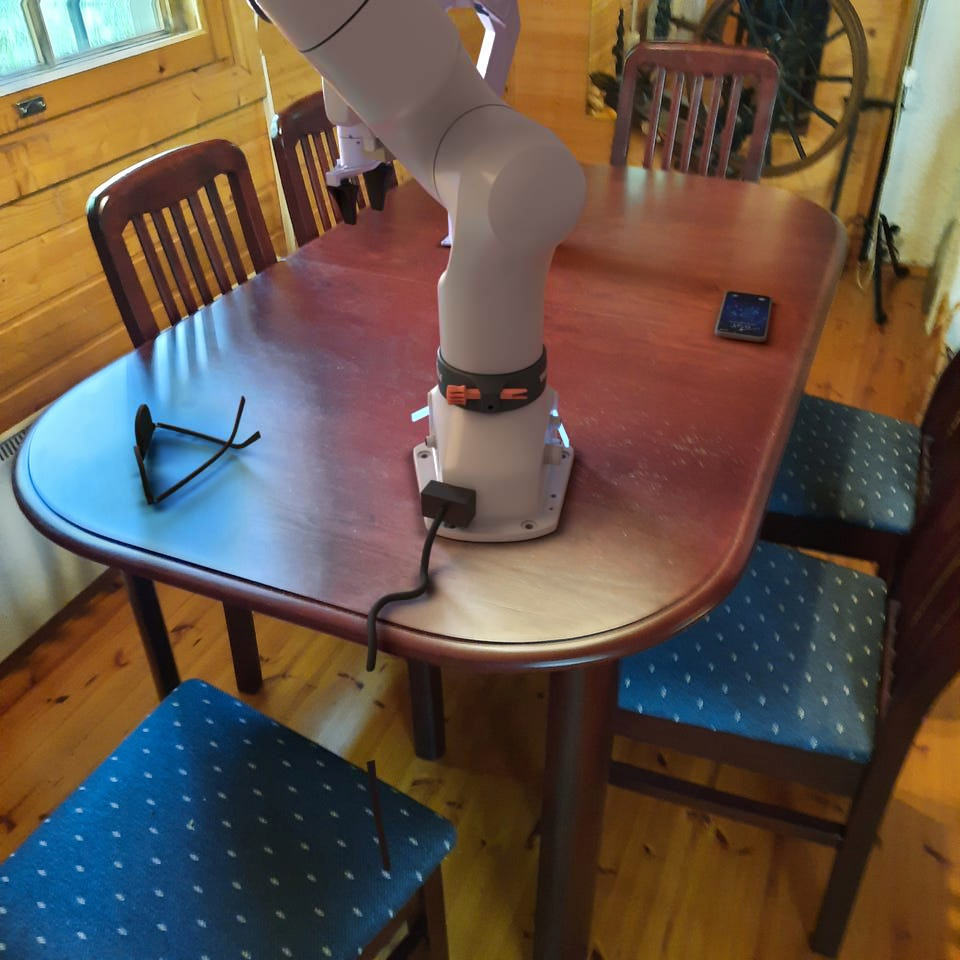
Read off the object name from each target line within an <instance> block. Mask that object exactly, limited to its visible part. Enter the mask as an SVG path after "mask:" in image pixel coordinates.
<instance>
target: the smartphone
mask: <svg viewBox="0 0 960 960" xmlns="http://www.w3.org/2000/svg"><path fill="white" fill-rule="evenodd" d="M773 302H774V301H773V298H772V297H771V296H769V295H763V294H756V293H749V292H743V291H734V290H729V291H726V292H725V293H724V295H723V299H722V301H721V306H720V310H719V312H718V317H717V319H716V322H715V328H714V334H715V335H716V336H717V337H718V338H719V337H720V338H725V339H732V340H739V341H747V342H754V343H764V342H765V341H767V338H768V333H769V328H770V318H771V313H772V307H773Z"/></svg>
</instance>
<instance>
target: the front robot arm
mask: <svg viewBox="0 0 960 960" xmlns="http://www.w3.org/2000/svg"><path fill="white" fill-rule="evenodd" d="M246 2H247V5H248V6H249V8H251V10H252V11H253V12H254V13H255V14H256V15H257V16H258V17H259V18H260V19H262V21H264V22H265V23H268V24H271V25H273V26H275V28H276V29H277V30H278V31H279V32H280V34H281V35H282V37H284V38H285V39H286V40H287V42H289V44H290V45H291V46H292V48H294V50H296V51H297V52H298V53H299V54H300V56H302V58H304V60H305V61H306V62H307V63H308V64H309V65H310V66H311V67H312V68H313V69H314V70H315V71H316V72H317V73H318V75H319V76H320V77H321V82H322V92H323V93H322V94H323V102H324V109H325V114H326V117H327V119H328V120H329V122H330V123H331V124H332V125H333V126H336V127H337V126H344V127H352V126H355V125H356V128H357V129H358V131H359V133H360V134H361V136H362V138H363V143H364V149H365V150H366V151H371V152H373V151H375V150H377V149H379V147H380V146H379V139H380V140H381V141H382V143H383V144H384V145H385V146H386V147H387V148H388V149H389V150H390V152H391V153H392V154H393V155H394V156H395V157H396V158H397V159H396V160H397V161H398V162H399V163H400V164H401V165H402V166H403V167H404V169H406V171H407V172H408V173H409V174H410V175H411V176H412V178H414V180H416V182H417V183H418V184H419V185H420V186H421V187H422V188H423V189H424V191H426V193H428V194H429V196H431V197H432V198H433V199H434V200H435V201H436V202H437V203H439V204H440V205H441V206H442V207H443V208H444V209H446V211H447V215H448V214H449V217H450V220H451V224H452V245H451V246H450V252H449V256H448V261H447V266H446V269H445V270H444V272H443V273H442V274H441V275H440V277H439V279H438V283H437V307H438V327H439V342H440V343H439V344H440V345H439V346H438V348H437V354H436V356H437V358H436V363H435V364H436V376H437V384H436V385H435V387H434V386H433V388H432V389H431V390H430V391H428V392H427V406H424V407H423V408H421V409H419V410H417V411H415V412H413V413H411V421H412V422H416V421H418V420H420V419H423V418H424V417H426V416H428V424H429V435H426V436H425V438H424V442H422V443H419V444H417V445H416V446H415V447H414V448H413V454H412V455H413V457H412V458H413V464H414V470H415V475H416V476H415V477H416V480H417V487H418V492H419V498H420V499H419V500H420V506H421V516H422V517H423V522H424V526H425V529H426V530H427V531H428V532H427V534H426V537H425V540H424V543H423V547H422V553H421V559H420V566H419V579H420V585H419V586H418V587H417V588H414V589H412V590H409V591H407V590H406V591H400V592H399V591H398V592H392V593H388V594H385V595H383V596H381V597H380V598H379V599H378V600H377V601H376V602H375V603H374V604H373V605H372V606H371V608H370V610H369V612H368V615H367V618H366V631H367V655H366V656H367V657H366V665H365V670H366V672H368V673H372V672H373V671H375V669H376V664H377V657H378V656H377V655H378V636H377V633H378V632H377V617H378V614H379V613H380V612H381V611H382V610H383V608H384V607H385V606H387V605H388V604H390V603H394V602H401V601H409V600H414V599H418V598H419V597H421V596H423V595H424V594H425V593H426V592H427V591H428V589H429V586H430V579H429V566H430V559H431V552H432V548H433V544H434V541H435V538H436V535H437V536H440V537H443V538H448V539H452V540H457V541H466V542H477V543H478V542H480V543H500V542H501V543H502V542H503V543H506V542H518V541H527V540H531V539H536V538H539V537H543V536H546V535H548V534H550V533H552V532H554V531H556V530H557V527H558V525H559V520H560V518H561V517H560V516H561V512H562V508H563V504H564V500H565V497H566V492H567V488H568V483H569V480H570V476H571V472H572V469H573V468H572V467H573V464H574V459H575V450H574V447H573V446H571V445H570V439H569V438H568V435H567V433H566V430H565V428H564V426H563V424H562V416H559V392H557V391H556V390H555V389H554V388H553V387H552V386H551V385H550V384H549V383H548V382H547V379H548V367H549V361H548V356H547V355H548V354H547V353H548V351H547V347H546V345H545V344H544V330H545V329H544V326H545V302H546V301H545V299H546V288H547V281H548V275H549V272H550V268H551V264H552V262H553V261H552V260H553V257H554V256H555V252H556V249H557V246H559V245H560V244H562V243H563V242H564V241H565V240H566V239H567V238H568V237H570V235H571V234H572V232H573V231H574V230H575V228H576V227H577V225H578V224H579V221H580V220H581V217H582V215H583V213H584V209H585V206H586V202H587V201H586V200H587V181H586V176H585V173H584V170H583V167H582V165H581V164H580V163H579V160H578V159H577V158H576V157H575V156H574V154H573V152H571V149H570V148H569V147H568V145H566V144H565V143H564V141H563V140H562V139H561V138H560V137H559V135H558V134H556V133H555V132H554V131H553V130H552V129H551V128H549V127H547V126H545V125H543V124H542V123H539V122H538V121H536V120H534V119H532V118H530V117H528V116H527V115H525V114H523V113H521V112H520V111H518V110H517V109H515V108H513V106H511V105H510V104H508V103H507V102H506V101H505V100H503V98H502V99H501V98H500V97H499V96H497V95H496V94H495V93H494V91H493V90H492V89H491V88H490V87H489V85H488V84H487V83H486V81H485V80H484V78H483V77H482V75H481V74H480V72H479V71H478V69H477V65H476V64H475V63H474V61H473V59H472V58H471V56H470V53H469V52H468V50H467V48H466V46H465V44H464V43H463V41H462V38H461V35H460V31H459V29H458V27H457V25H456V23H455V22H454V21H453V19H452V18H451V17H450V15H449V14H448V13H447V12H445V10H444V9H443V8H442V7H441V5H440V4H439V3H438V1H437V0H246ZM375 135H376V136H375ZM558 433H559V434H560V437H561V439H562V441H561V439H560V438H558ZM366 770H367V772H366V773H367V781H368V788H369V795H370V802H371V809H372V814H373V821H374V825H375V831H376V836H377V842H378V848H379V852H380V858H381V862H382V868H383V867H384V868H383V871H384V870H386V871H389V870H390V869H391V870H392V865H391V859H390V854H389V849H388V848H389V847H388V842H387V838H386V831H385V827H384V820H383V815H382V814H383V813H382V808H381V802H380V801H381V800H380V794H379V785H378V778H377V777H378V776H377V768H376V759H372V760H367V761H366Z"/></svg>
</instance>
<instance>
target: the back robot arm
mask: <svg viewBox="0 0 960 960" xmlns="http://www.w3.org/2000/svg"><path fill="white" fill-rule="evenodd" d="M437 1H438V3H439V4H440V5H441V7H442V8H443V9H444V10H445V12H446V13H447V12H449V11H450V10H451V9H455V8H458V9H459V8H464V9H465V8H472V9H473V10H474V11H475V13H476V14H477V16H478V18H479V21H480V22H481V24H482V25H483V27H484V30H485V32H484V36H483V41H482V44H481V48H480V52H479V56H478V61H477V64H476V67H477V69H478V71H479V72H480V74H481V75H482V77H483V78H484V80H485V81H486V83H487V84H488V85H489V87H490V88H491V89H492V90H493V91H494V93H495V94H496V95H497V96H499V97H500V98H501V99H502V100H503V95H504V91H505V88H506V84H507V81H508V77H509V73H510V70H511V66H512V63H513V59H514V58H513V57H514V55H515V52H516V47H517V43H518V40H519V37H520V33H521V27H522V22H521V16H520V9H519V8H520V7H519V3H518V2H519V1H518V0H437ZM336 131H337V140H338V147H339V155H340V158H338V159H336V165H335V166H334V167H333V168H332V169H331V170H329V171H327V172H326V173H325V176H326V181H325V189H327V191H328V192H329V193H330V195H331V196H332V198H333V200H334V201H335V203H336V205H337V207H338V210H339V212H340V215H341V218H342V220H343V222H344V224H345V225H349V226H356V225H357V221H358V214H357V213H358V210H357V209H358V208H357V205H358V203H357V202H358V195H359V194H358V193H359V190H360V188H361V187H360V184H354V183H352V181H350V179H352V178H355V177H357V176H359V175H361V174H362V175H363V178H364V181H365V184H366V188H367V194H368V200H369V205H370V208H371V210H372V211H378V212H382V211H384V210H385V209H384V207H385V202H386V195H387V190H388V186H389V184H390V180H391V178H392V176H393V174H394V167H393V166H392V165H388V164H391V161H390V162H387V163H384V162H380V161H377V160H374V159H370V158H367V157H363V151H362V142H361V134H360V133H359V131H358V129H357V128H356V125H355V126H352V127H344V126H337V125H336ZM447 220H448V235H447V236H446V237H445V238H444V239H442V241H440V245H441V246H446V247H451V245H452V224H451V220H450V217H449V214H448V213H447Z"/></svg>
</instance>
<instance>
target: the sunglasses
mask: <svg viewBox="0 0 960 960" xmlns="http://www.w3.org/2000/svg"><path fill="white" fill-rule="evenodd" d="M245 404H246V398H245V396H244V395H241V396H240V401H239V405H238V408H237V409H238V410H237V413H236V417H235V421H234V425H233V429H232V432H231V435H230V437H229V439H228V440H227V441H226V440H223V439H220V438H217V437H214V436H211V435H208V434H204V433H201V432H198V431H195V430H192V429H188V428H184V427H180V426H176V425H172V424H169V423H164V422H159V421H157V422H153V418H152V414H151V411H150V408H149V406H148V404H146V403H142V404H140V405H139V406H138V409H137V411H136V413H135V418H134V436H135V444H136V445H133V447H132V448H133V452H134V455H135V460H136V463H137V467H138V471H139V475H140V479H141V485H142V489H143V493H144V497H145V500H146V503H147V505H148V506H151V505H154V504H155V501H156V503H157V504H160V503H162V501H164V500H165V499H167V498H168V497H170V496H171V495H172V494H174V493H175V492H177V491H178V490H179V489H181V488H182V487H184V486H185V485H187V484H188V483H189V482H191V481H192V480H193V479H194V478H196V477H197V476H198V475H200V474H202V473H203V472H204V471H205V470H206V469H208V467H210V466H211V465H212V464H213V463H215V462H216V461H217V460H218V459H220V457H222V455H223V454H224V453H225V452H226V451H228V449H229V448H231V449H233V450H242V449H246V448H247V447H249V446H250V445H252V444H254V443H255V442H256V441H258V440H260V439H261V438H262V435H261V432H260V430H256V431H255V432H254V433H253V434H252V435H250V436H249V437H248V438H247V439H246V440H245V441H244V442H241V443H233V442H234V441H235V438H236V435H237V434H238V429H239V426H240V423H241V419H242V415H243V412H244V409H245ZM157 428H160V429H164V430H168V431H172V432H175V433H179V434H183V435H188V436H191V437H195V438H199V439H202V440H205V441H209V442H211V443H215V444H218V445H221V446H223V447H221V449H220V450H219V451H217V452H216V453H215V454H214V455H213V456H212V457H211V458H209V459H208V460H207V461H206V462H204V463H203V464H202V465H200V466H199V467H198V468H196V469H195V470H193V471H192V472H191V473H189V474H188V475H187V476H186V477H184V478H183V479H180V481H178V482H177V483H176V484H174V485H172V486H171V487H169V488H168V489H166V490H165V491H163V492H162V493H161V494H160V495H158V496H157V497H154V495H152V491H151V487H150V484H149V479H148V474H147V470H146V467H145V463H144V461H145V459H146V456H147V453H148V450H149V448H150V445H151V442H152V438H153V435H154V432H155V430H157Z"/></svg>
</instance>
